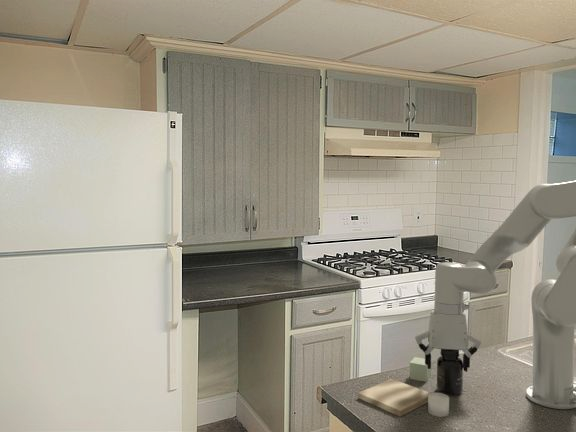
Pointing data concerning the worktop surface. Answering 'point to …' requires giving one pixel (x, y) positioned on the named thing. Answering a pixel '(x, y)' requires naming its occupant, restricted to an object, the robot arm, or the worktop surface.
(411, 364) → the sage block
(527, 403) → the worktop surface
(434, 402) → the white rounded lump
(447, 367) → the supplement bottle
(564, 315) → the robot arm
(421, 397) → the birch board
